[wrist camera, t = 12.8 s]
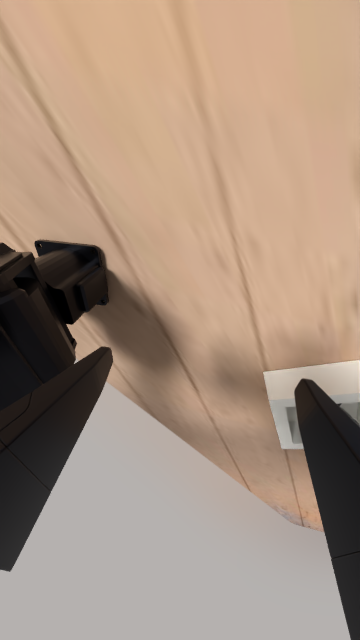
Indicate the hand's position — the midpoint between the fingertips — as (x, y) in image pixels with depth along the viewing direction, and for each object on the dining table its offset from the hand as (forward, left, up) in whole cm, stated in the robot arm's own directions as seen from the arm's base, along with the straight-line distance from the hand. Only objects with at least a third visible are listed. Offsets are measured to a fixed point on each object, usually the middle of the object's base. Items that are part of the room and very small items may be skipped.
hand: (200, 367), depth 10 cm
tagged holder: (+16, -15, -12) cm, 25 cm away
